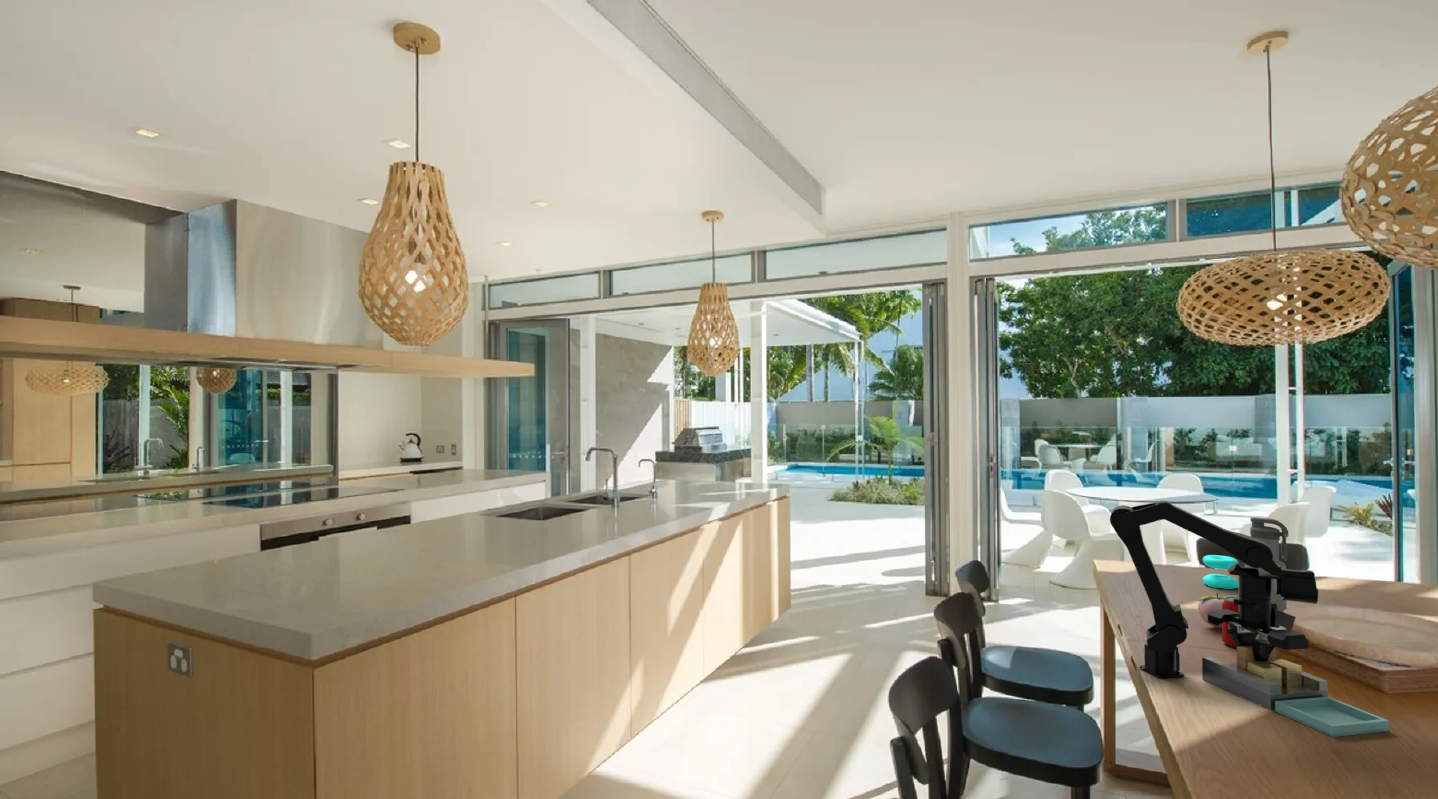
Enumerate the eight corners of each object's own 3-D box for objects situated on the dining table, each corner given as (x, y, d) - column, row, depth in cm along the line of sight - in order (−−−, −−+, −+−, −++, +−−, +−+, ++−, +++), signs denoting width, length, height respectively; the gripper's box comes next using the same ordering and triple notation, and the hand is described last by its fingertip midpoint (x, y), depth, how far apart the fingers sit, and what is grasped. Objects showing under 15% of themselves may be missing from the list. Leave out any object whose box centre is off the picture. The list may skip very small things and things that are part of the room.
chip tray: (1332, 737, 127) (1332, 726, 127) (1275, 711, 138) (1275, 701, 138) (1389, 731, 129) (1388, 720, 129) (1328, 706, 140) (1328, 696, 140)
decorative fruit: (1225, 624, 193) (1224, 589, 193) (1244, 633, 185) (1244, 597, 185) (1190, 623, 194) (1190, 588, 194) (1208, 632, 186) (1207, 596, 186)
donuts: (1227, 554, 238) (1245, 561, 228) (1228, 583, 238) (1245, 590, 228) (1196, 553, 240) (1212, 560, 230) (1196, 582, 240) (1212, 589, 230)
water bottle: (1285, 609, 207) (1284, 518, 207) (1291, 618, 198) (1290, 522, 199) (1243, 604, 212) (1242, 515, 213) (1247, 612, 204) (1246, 519, 204)
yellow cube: (1287, 686, 143) (1286, 667, 143) (1267, 679, 147) (1267, 660, 147) (1301, 684, 144) (1301, 665, 144) (1282, 677, 148) (1281, 659, 148)
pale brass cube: (1264, 687, 142) (1264, 668, 142) (1247, 680, 146) (1247, 661, 146) (1281, 687, 142) (1281, 668, 143) (1264, 679, 146) (1264, 661, 147)
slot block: (1270, 710, 138) (1270, 685, 138) (1202, 679, 154) (1202, 657, 154) (1327, 705, 141) (1327, 680, 141) (1254, 675, 156) (1254, 653, 157)
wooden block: (1245, 677, 147) (1245, 649, 147) (1236, 673, 149) (1236, 646, 149) (1276, 674, 149) (1276, 647, 149) (1267, 671, 151) (1267, 644, 151)
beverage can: (1260, 651, 172) (1260, 604, 172) (1230, 649, 173) (1230, 602, 173) (1245, 642, 178) (1245, 596, 178) (1216, 640, 180) (1216, 595, 180)
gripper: (1330, 607, 141) (1330, 681, 141) (1245, 583, 160) (1246, 649, 160) (1285, 610, 139) (1286, 686, 139) (1205, 586, 158) (1205, 653, 158)
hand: (1255, 667), depth 149 cm, fingers closed on wooden block, 2 cm apart
